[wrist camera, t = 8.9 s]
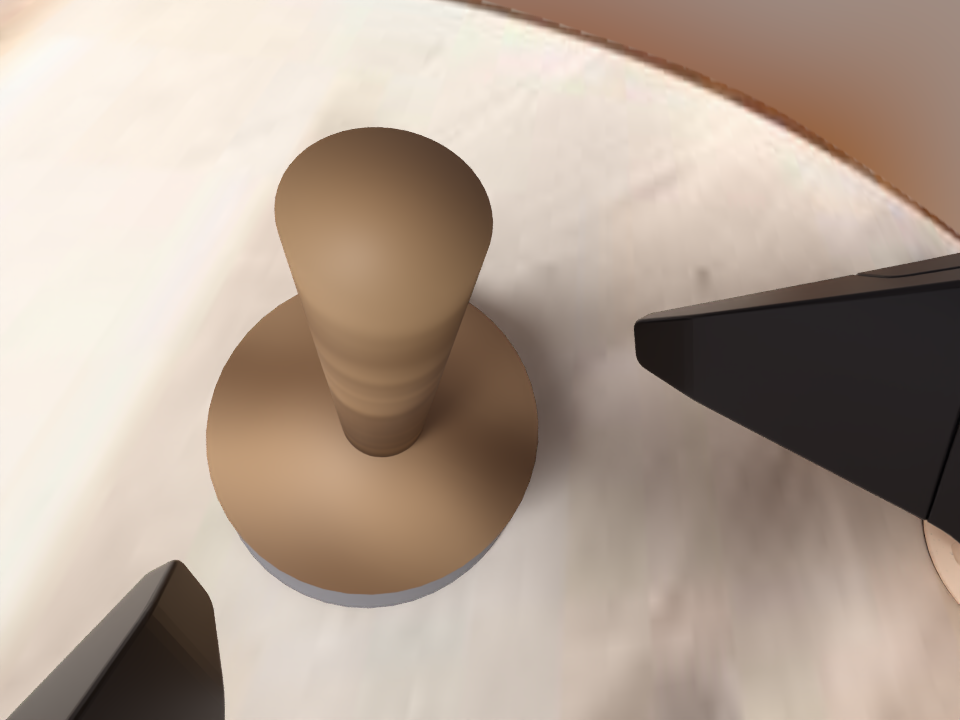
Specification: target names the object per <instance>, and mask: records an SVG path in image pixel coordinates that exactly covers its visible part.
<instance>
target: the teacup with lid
mask: <svg viewBox="0 0 960 720" xmlns="http://www.w3.org/2000/svg"><path fill="white" fill-rule="evenodd" d="M924 532H925V538H926V542H927V546H928V550H929V553H930V556H931V558H932V561H933V563H934V566H935V568H936V570H937V572H938V574H939V576H940V578H941V580H942V581H943V583H944V585H945V586H946V588H947V589H948V591H949V592H950V593H951V595H952V596H953V597H954V599H955V600H956V601H957V602H958V604H959V605H960V544H959V543H958V542H957V541H956V540H954V539H953V538H952V537H950V536H949V535H948V534H946V533H945V532H943V531H942V530H940V529H939V528H937V527H935V526H933V525H932V524H930V523H928V522H927V520H924Z"/></svg>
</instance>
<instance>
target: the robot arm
mask: <svg viewBox="0 0 960 720" xmlns="http://www.w3.org/2000/svg"><path fill="white" fill-rule="evenodd" d="M634 337H635V350H636V357H637V360H638V362H639V363H640V364H641V366H642V367H644V368H645V369H646V370H648V371H649V372H651V373H653V374H654V375H656V376H657V377H659V378H660V379H662V380H663V381H665V382H666V383H668V384H669V385H671V386H673V387H674V388H676V389H677V390H679V391H680V392H682V393H683V394H685V395H686V396H688V397H690V398H691V399H693V400H695V401H696V402H698V403H700V404H702V405H704V406H706V407H707V408H709V409H711V410H713V411H715V412H717V413H719V414H721V415H723V416H725V417H727V418H729V419H730V420H732V421H734V422H736V423H738V424H740V425H742V426H744V427H746V428H748V429H750V430H752V431H754V432H755V433H757V434H759V435H761V436H763V437H765V438H767V439H769V440H771V441H773V442H775V443H777V444H778V445H780V446H782V447H784V448H786V449H788V450H790V451H792V452H794V453H796V454H798V455H800V456H801V457H803V458H805V459H807V460H809V461H811V462H813V463H815V464H817V465H819V466H821V467H823V468H824V469H826V470H828V471H830V472H832V473H834V474H836V475H838V476H840V477H842V478H844V479H846V480H848V481H849V482H851V483H853V484H855V485H857V486H859V487H861V488H863V489H865V490H867V491H869V492H871V493H872V494H874V495H876V496H878V497H880V498H882V499H884V500H886V501H888V502H890V503H892V504H894V505H895V506H897V507H899V508H901V509H903V510H905V511H907V512H909V513H911V514H913V515H915V516H917V517H918V518H920V519H922V520H927V522H928V523H930V524H932V525H933V526H935V527H937V528H939V529H940V530H942V531H943V532H945V533H946V534H948V535H949V536H950V537H952V538H953V539H954V540H956V541H957V542H958V543H959V544H960V253H957V254H952V255H947V256H942V257H937V258H932V259H928V260H923V261H918V262H913V263H908V264H903V265H898V266H892V267H887V268H882V269H877V270H872V271H867V272H862V273H858V274H857V275H849V276H844V277H839V278H834V279H828V280H823V281H818V282H813V283H807V284H802V285H797V286H792V287H787V288H781V289H776V290H771V291H766V292H760V293H755V294H750V295H745V296H739V297H734V298H729V299H724V300H718V301H713V302H708V303H703V304H697V305H692V306H687V307H682V308H677V309H671V310H666V311H661V312H656V313H651V314H648V315H646V316H645V317H643V318H641V319H639V320H637V321H636V323H635V325H634ZM6 720H225V699H224V685H223V676H222V668H221V661H220V653H219V646H218V639H217V631H216V624H215V616H214V609H213V605H212V602H211V600H210V597H209V596H208V594H207V592H206V591H205V590H204V588H203V587H202V586H201V585H200V583H199V582H198V581H197V580H196V578H195V577H194V576H193V575H192V573H191V572H190V571H189V570H188V568H187V567H186V566H185V565H184V564H183V563H182V562H181V561H179V560H172V561H170V562H168V563H166V564H164V565H162V566H160V567H158V568H156V569H154V570H152V571H151V572H149V573H148V574H146V575H145V576H144V577H143V578H142V579H141V580H140V581H139V582H138V583H137V584H136V585H135V586H134V588H133V589H132V590H131V591H130V592H129V593H128V594H127V595H126V596H125V597H124V598H123V599H122V600H121V601H120V602H119V603H118V604H117V605H116V606H115V607H114V608H113V609H112V610H111V611H110V612H109V613H108V614H107V615H106V617H105V618H104V619H103V620H102V621H101V622H100V623H99V624H98V625H97V626H96V627H95V628H94V629H93V630H92V631H91V632H90V633H89V634H88V635H87V636H86V637H85V638H84V639H83V640H82V641H81V642H80V643H79V644H78V645H77V647H76V648H75V649H74V650H73V651H72V652H71V653H70V654H69V655H68V656H67V657H66V658H65V659H64V660H63V661H62V662H61V663H60V664H59V665H58V666H57V667H56V668H55V669H54V670H53V671H52V672H51V673H50V674H49V675H48V677H47V678H46V679H45V680H44V681H43V682H42V683H41V684H40V685H39V686H38V687H37V688H36V689H35V690H34V691H33V692H32V693H31V694H30V695H29V696H28V697H27V698H26V699H25V700H24V701H23V702H22V703H21V704H20V706H19V707H18V708H17V709H16V710H15V711H14V712H13V713H12V714H11V715H10V716H9V717H8V718H7V719H6Z"/></svg>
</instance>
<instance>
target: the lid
mask: <svg viewBox="0 0 960 720" xmlns="http://www.w3.org/2000/svg"><path fill="white" fill-rule="evenodd" d="M274 210H275V222H276V226H277V230H278V234H279V237H280V240H281V243H282V246H283V249H284V252H285V255H286V258H287V261H288V264H289V267H290V270H291V273H292V276H293V279H294V282H295V285H296V288H297V292H298V295H296V296H294V297H292V298H291V299H289V300H287V301H286V302H284V303H282V304H281V305H279V306H278V307H276V308H275V309H274V310H273V311H271V312H270V313H269V314H267V315H266V316H265V317H263V318H262V319H261V320H260V321H259V322H258V323H257V324H256V325H255V326H254V327H253V328H252V329H251V330H250V331H249V332H248V333H247V334H246V336H245V337H244V338H243V339H242V341H241V342H240V343H239V345H238V346H237V347H236V348H235V350H234V351H233V353H232V355H231V356H230V358H229V360H228V361H227V363H226V365H225V366H224V368H223V370H222V373H221V375H220V377H219V380H218V382H217V384H216V387H215V389H214V393H213V397H212V400H211V404H210V408H209V414H208V421H207V429H206V446H207V459H208V465H209V471H210V477H211V480H212V483H213V486H214V489H215V492H216V495H217V498H218V500H219V502H220V504H221V506H222V508H223V510H224V512H225V514H226V516H227V518H228V519H229V521H230V522H231V524H232V525H233V526H234V528H235V529H236V530H237V532H238V533H239V535H240V536H241V537H242V539H243V540H244V541H245V542H246V543H247V544H248V545H249V546H250V547H251V548H252V549H253V550H254V551H255V552H256V553H257V554H258V555H259V556H261V557H262V558H263V559H265V560H266V561H267V562H269V563H270V564H271V565H273V566H274V567H276V568H277V569H278V570H280V571H282V572H284V573H286V574H288V575H290V576H291V577H293V578H295V579H297V580H299V581H301V582H304V583H307V584H310V585H313V586H316V587H319V588H322V589H325V590H330V591H336V592H341V593H346V594H366V595H375V594H385V593H395V592H400V591H404V590H408V589H412V588H416V587H420V586H423V585H425V584H428V583H430V582H433V581H436V580H438V579H441V578H443V577H445V576H446V575H448V574H450V573H452V572H454V571H455V570H457V569H459V568H461V567H462V566H464V565H465V564H466V563H468V562H469V561H470V560H472V559H473V558H474V557H476V556H477V555H478V554H480V553H481V552H482V551H483V550H484V549H485V548H486V547H487V546H488V545H489V544H490V543H491V542H492V541H493V540H494V539H495V538H496V537H497V536H498V535H499V534H500V532H501V531H502V530H503V529H504V527H505V526H506V525H507V523H508V522H509V521H510V519H511V518H512V516H513V514H514V513H515V511H516V509H517V508H518V506H519V504H520V502H521V501H522V498H523V496H524V494H525V491H526V489H527V487H528V484H529V482H530V478H531V475H532V471H533V467H534V464H535V459H536V452H537V445H538V417H537V408H536V401H535V397H534V393H533V389H532V385H531V382H530V380H529V377H528V375H527V372H526V369H525V367H524V365H523V363H522V361H521V359H520V358H519V356H518V354H517V352H516V350H515V349H514V347H513V346H512V344H511V343H510V342H509V340H508V339H507V337H506V336H505V335H504V334H503V332H502V331H501V330H500V329H499V328H498V327H497V326H496V325H495V324H494V323H493V321H491V320H490V319H489V318H488V317H487V316H486V315H485V314H483V313H482V312H481V311H480V310H479V309H477V308H476V307H474V306H473V305H472V304H470V303H469V300H470V297H471V295H472V292H473V289H474V286H475V284H476V281H477V278H478V275H479V273H480V270H481V267H482V264H483V262H484V259H485V256H486V253H487V251H488V248H489V245H490V241H491V237H492V229H493V218H492V209H491V205H490V201H489V198H488V196H487V193H486V191H485V189H484V187H483V185H482V183H481V182H480V180H479V178H478V177H477V176H476V174H475V173H474V172H473V170H472V169H471V168H470V167H469V166H468V165H467V164H466V163H465V162H464V161H463V160H462V159H461V158H460V157H458V156H457V155H456V154H455V153H453V152H452V151H450V150H449V149H447V148H446V147H444V146H443V145H441V144H439V143H437V142H435V141H433V140H431V139H429V138H426V137H424V136H422V135H419V134H415V133H412V132H409V131H404V130H399V129H393V128H383V127H367V128H357V129H351V130H347V131H342V132H339V133H336V134H333V135H330V136H328V137H326V138H324V139H321V140H319V141H317V142H316V143H314V144H313V145H311V146H309V147H308V148H307V149H305V150H304V151H303V152H302V153H301V154H299V155H298V156H297V157H296V158H295V160H294V161H293V162H292V163H291V164H290V165H289V167H288V168H287V170H286V171H285V173H284V174H283V177H282V179H281V181H280V183H279V186H278V189H277V193H276V197H275V208H274Z"/></svg>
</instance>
